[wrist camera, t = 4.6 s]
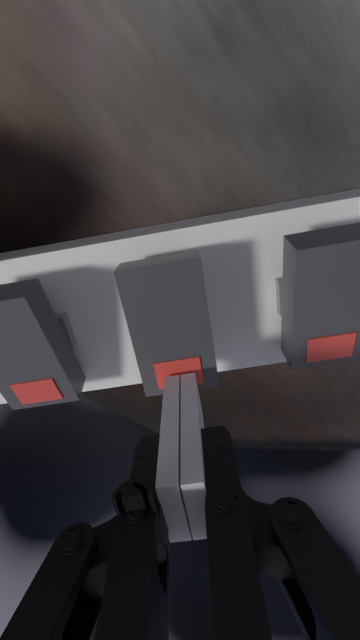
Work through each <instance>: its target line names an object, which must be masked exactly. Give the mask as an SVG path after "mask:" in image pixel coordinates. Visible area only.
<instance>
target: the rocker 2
mask: <svg viewBox="0 0 360 640" xmlns="http://www.w3.org/2000/svg"><path fill="white" fill-rule="evenodd" d="M113 273H114V277H115V280H116V284H117V288H118V292H119V296H120V299H121V303H122V307H123V311H124V315H125V318H126V322H127V326H128V330H129V334H130V337H131V341H132V345H133V349H134V353H135V356H136V360H137V364H138V368H139V372H140V375H141V379H142V383H143V387H144V391H145V394H146V397H149V396H155V395H162V394H163V392H164V381H165V377H168V376H175V375H179V376H180V381H181V375H182V374H189V373H195V375H196V381H197V386H198V389H204V388H211V387H217V386H219V379H218V372H217V365H216V359H215V352H214V345H213V338H212V331H211V325H210V318H209V311H208V304H207V297H206V290H205V284H204V277H203V270H202V263H201V257H200V254H199V250H193V251H187V252H181V253H175V254H170V255H164V256H158V257H152V258H147V259H141V260H135V261H129V262H124V263H120V264H119V265H118V267H117V268H116V269H115V271H114V272H113Z"/></svg>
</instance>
